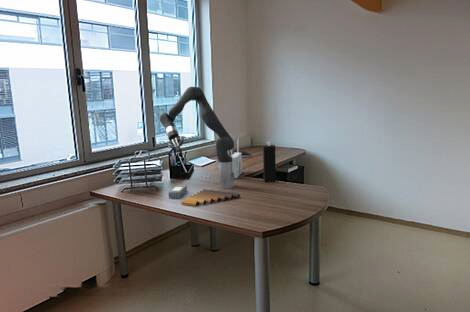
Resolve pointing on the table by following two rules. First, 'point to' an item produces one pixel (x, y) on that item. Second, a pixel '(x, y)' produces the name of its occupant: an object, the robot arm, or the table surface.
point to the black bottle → (269, 162)
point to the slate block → (178, 191)
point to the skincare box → (237, 164)
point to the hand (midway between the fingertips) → (179, 151)
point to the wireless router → (244, 154)
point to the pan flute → (208, 197)
